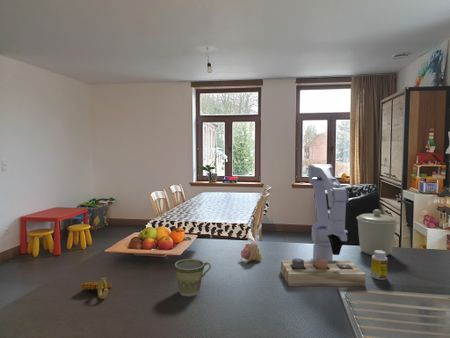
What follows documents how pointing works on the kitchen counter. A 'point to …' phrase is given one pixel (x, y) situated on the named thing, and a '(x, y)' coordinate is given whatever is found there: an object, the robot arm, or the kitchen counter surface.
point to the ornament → (98, 287)
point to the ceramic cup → (190, 276)
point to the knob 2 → (344, 266)
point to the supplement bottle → (379, 265)
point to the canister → (376, 232)
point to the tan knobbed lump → (251, 252)
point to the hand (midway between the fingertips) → (335, 254)
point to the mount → (323, 274)
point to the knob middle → (321, 264)
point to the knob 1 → (297, 264)
